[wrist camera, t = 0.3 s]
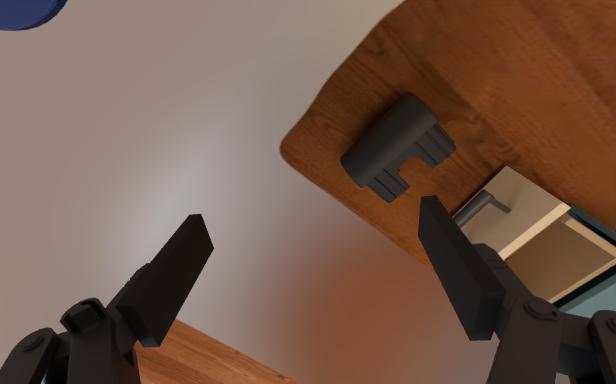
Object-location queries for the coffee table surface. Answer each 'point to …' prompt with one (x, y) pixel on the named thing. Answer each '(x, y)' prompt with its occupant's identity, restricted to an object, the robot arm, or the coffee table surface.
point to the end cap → (397, 147)
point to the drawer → (534, 235)
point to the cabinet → (601, 289)
